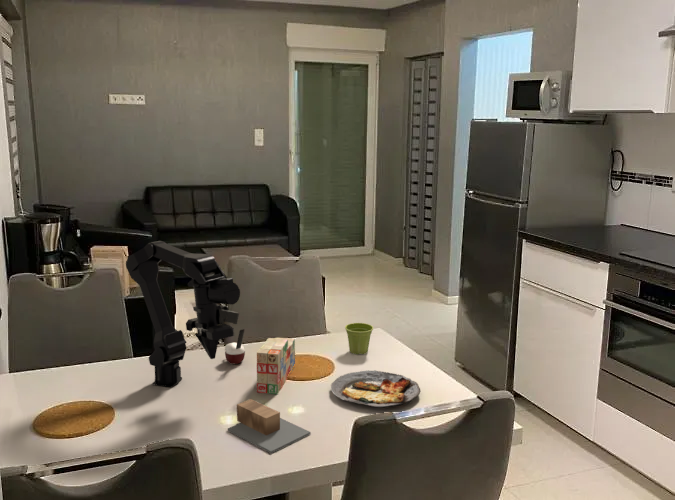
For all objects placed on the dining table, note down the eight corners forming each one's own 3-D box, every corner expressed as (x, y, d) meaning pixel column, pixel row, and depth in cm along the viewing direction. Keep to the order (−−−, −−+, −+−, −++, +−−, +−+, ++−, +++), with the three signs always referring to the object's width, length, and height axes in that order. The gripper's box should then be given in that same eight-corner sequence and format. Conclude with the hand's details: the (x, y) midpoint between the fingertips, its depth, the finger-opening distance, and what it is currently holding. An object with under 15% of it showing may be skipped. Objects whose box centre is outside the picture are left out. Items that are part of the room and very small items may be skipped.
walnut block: (237, 404, 161) (266, 418, 154) (250, 398, 164) (279, 412, 157) (237, 420, 162) (266, 435, 155) (250, 415, 165) (279, 429, 158)
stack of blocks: (275, 365, 201) (275, 327, 199) (295, 366, 200) (295, 329, 198) (256, 393, 180) (256, 351, 178) (278, 395, 179) (278, 353, 177)
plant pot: (363, 359, 207) (364, 333, 206) (339, 352, 212) (339, 328, 211) (377, 350, 215) (378, 326, 213) (353, 345, 220) (354, 321, 218)
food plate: (429, 386, 187) (430, 374, 186) (404, 419, 166) (404, 407, 166) (351, 372, 197) (351, 362, 197) (318, 402, 177) (318, 390, 176)
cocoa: (224, 359, 206) (222, 323, 204) (243, 357, 207) (241, 321, 205) (227, 369, 197) (225, 331, 195) (247, 366, 198) (245, 329, 196)
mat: (227, 430, 158) (227, 428, 158) (266, 413, 167) (266, 411, 167) (271, 453, 148) (271, 451, 147) (310, 434, 157) (310, 431, 157)
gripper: (249, 301, 168) (255, 358, 170) (219, 293, 183) (225, 345, 185) (209, 309, 162) (216, 368, 164) (182, 300, 177) (188, 354, 179)
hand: (212, 358), depth 173 cm, fingers closed
